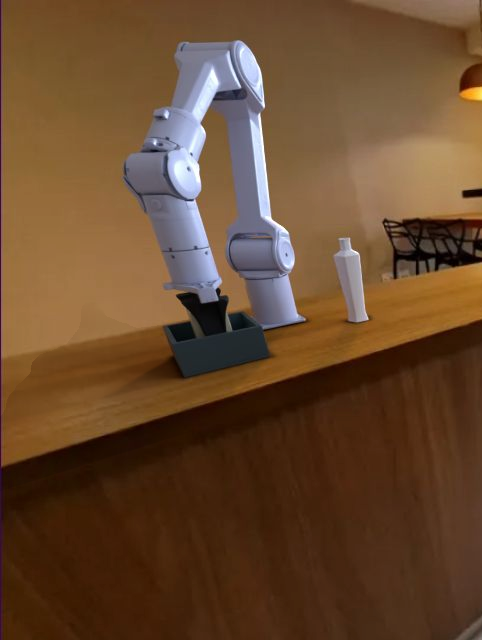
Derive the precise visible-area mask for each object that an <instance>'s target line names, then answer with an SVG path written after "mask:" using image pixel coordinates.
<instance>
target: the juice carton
mask: <svg viewBox="0 0 482 640" xmlns="http://www.w3.org/2000/svg"><path fill="white" fill-rule="evenodd" d="M185 311H186V314H187V316H188V319H189V321H190V322H191V325H192V328H193V331H194V334H195V336H196V338H201V337H205V335H204V333H203V331H202V329H201V327H200V325H199V324H198V322H197V320H196V319H195V317H194V316H193V315H192V314H191V312H190V311H189V310H188V309H187V308H185ZM227 314H228V311H226V329H227V332H230V331H232V328H231V324H230V321H229V318H228V315H227Z"/></svg>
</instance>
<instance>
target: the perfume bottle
mask: <svg viewBox="0 0 482 640" xmlns="http://www.w3.org/2000/svg"><path fill="white" fill-rule="evenodd" d="M337 240H338V241H339V242H338V243H339V249H340V250H339V251H338V252H336V253H335V254H333V261H334V264H335V267H336V270H337V275H338V278H339V282H340V286H341V289H342V294H343V297H344V302H345V305H346V309H347V313H348V314H347V322H352V323H355V324H356V323H361V322H365V321H369V320H370V319H369V317H368V314H367V312H366V306H365V294H364V285H363V278H362V266H361V255H360V253H359V252H358V251H355V250H354V249H352V244H351V237H340V238H337Z"/></svg>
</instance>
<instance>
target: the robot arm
mask: <svg viewBox="0 0 482 640" xmlns="http://www.w3.org/2000/svg"><path fill="white" fill-rule="evenodd" d="M173 59H174V62H175V66H176V68H177V70H178V72H179V74H178V77H177V82H176V86H175V89H174V93H173V96H172V100H171V105H170V106H163V107H159V108H155V109H154V110H153V113H152V117H153V119H152V122H151V124H150V126H149V128H148V130H147V133H146V136H145V138H144V139H143V142H142V144H141V145H142V146H141V148H140V149H139V152H133V153H130V154H129V155H128V156H127V158H126V159H125V160H124V162H123V164H122V173H123V175H122V176H121V179H122V182H123V183H124V185H125V187H126V188H127V190H128V191H129V192H130V193H131V194H132V195H133V196H134V197H135V199H136V200H137V203H138V204H139V207H140V210H141V211H143V213H144V214H145V215H148V218H149V221H150V224H151V226H152V229H153V232H154V235H155V238H156V241H157V243H158V247H159V249H160V252H161V255H162V257H163V261H164V264H165V266H166V269H167V271H168V274H169V277H170V282H169V281H168V282H164V283H162V288H163V289H164V291H171V290H176V291H179V292H181V293H177V294H175V297H176V298H177V299H178V301H180V303H181V305H182V306H183V307H184V308H185V309H186V308H187V309H188V310H189V311H190V312H191V314H192V315H193V316H194V317H195V319H196V320H197V322H198V324H199V325H200V327H201V329H202V331H203V333H204V335H205V336H210V335H215V334H220V333H225V332H227V329H226V312H227V309H228V305H229V301H230V298H229V297H230V296H228V295H227V294H225V295H221V293H222V290H221V288H220V286H221V284H222V283H223V280H222V277H221V276H220V274H219V272H218V269H217V266H216V262H215V259H214V256H213V252H212V250H211V246H210V244H209V240H208V236H207V233H206V230H205V227H204V223H203V219H202V217H201V214H200V211H199V208H198V207H199V206H198V204H197V201H196V198H197V197H199V194H200V193H201V192H202V181H201V176H200V170H201V169H200V164H199V163H198V162H199V159H200V157H201V154H202V150H203V148H204V145H205V142H206V138H207V133H206V131H205V129H204V127H203V125H202V124H201V123H202V121H203V120H204V118H205V115H206V113H207V111H208V110H209V108H210V109H211V110H212V111H214V112H215V113H218V114H221V115H222V116H223V118H224V119H225V121H226V128H227V137H228V147H229V153H230V162H231V170H232V171H231V172H232V178H233V186H234V187H233V188H234V194H235V195H234V197H235V202H236V211H237V218H236V219H235V220H234V221H233V222H232V223H231V224H230V225H229V226H228V227H227V228H226V229H225V232H226V243H225V247H224V255H225V259H226V262H227V264H228V266H229V267H230V268H231V270H232V271H234V272H235V273H237V274H238V275H239V276H238V277H239V278H240V279H243V280H244V283H245V286H244V287H245V292H246V296H247V299H248V302H249V306H250V310H251V313H252V316H250V317H251V318H252V319H254V320H255V321H256V322H257V323H259V324H260V325H261V326H262V329H263V331H264V330H269V329H274V328H278V327H282V326H287V325H288V326H289V325H291V324H292V325H293V324H297V323H298V324H299V323H301V322H302V323H303V322H306V318H305V317H303V316H302V315H301V314H299V313H298V311H297V306H296V303H295V298H294V294H293V291H292V286H291V281H290V278H289V277H290V276H289V274H291V272H292V270H293V268H294V266H295V260H296V259H295V258H296V257H295V252H294V248H293V246H292V243H291V238H290V233H289V231H288V230H286V229H285V228H284V226H282V225H280V224H279V223H277V222H276V221H274V219H272V211H271V201H270V193H269V184H268V175H267V163H266V156H265V147H264V137H263V130H262V119H261V112H262V111H263V110H264V109H266V108H265V107H266V106H265V94H264V85H263V76H262V71H261V68H260V66H259V64H258V62H257V59H256V56H255V55H254V53H253V52H252V50H251V49H250V48H249V47H248V45H247V44H245V42H244V41H242V40H239V39H238V40H233V41H218V42H217V41H216V42H214V41H213V42H188V41H181V42H180V43H178V45H177V47H176V52H175V53H174V54H173Z"/></svg>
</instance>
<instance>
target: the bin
mask: <svg viewBox="0 0 482 640" xmlns="http://www.w3.org/2000/svg"><path fill="white" fill-rule="evenodd" d="M227 315H228V318H229V321H230V324H231V328H232V331H230V332H225V333H220V334H215V335H210V336H205V337H201V338H196V336H195V334H194V331H193V328H192V325H191V322H190V320H187V321H182V322H177V323H171V324H165V325H162V329H163V332H164V334H165V337H166V340H167V342H168V346H169V348H170V351H171V353H172V356H173V358H174V359H175V361H176V364H177V365H178V367H179V369H180V371H181V374H182V376H183V377H184V379H185V378H190V377H193V376H197V375H201V374H205V373H210V372H213V371H219V370H222V369H225V368H231V367H234V366H238V365H242V364H246V363H250V362H253V361H254V362H255V361H258V360H263V359H266V358H270V357H271V354H270V350H269V347H268V344H267V339H266V336H265V332H264V330H263V329H262V326H261V325H260V324H259V323H257V322H256V321H255V320H254V319H252V318H251V316H250V315H249V314H248V313H246V312H245V311H244V310H242V311H237V312H232V313H227Z"/></svg>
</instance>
